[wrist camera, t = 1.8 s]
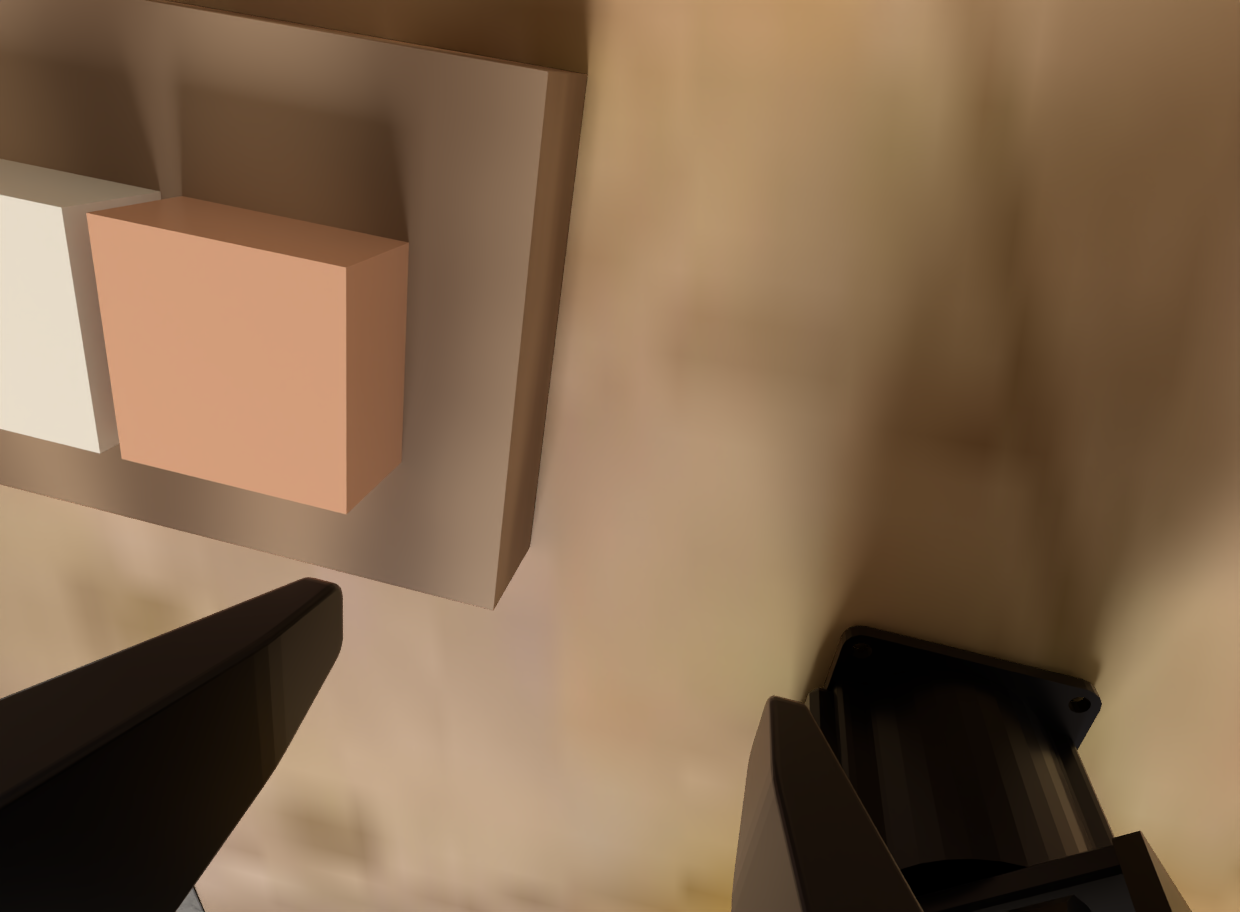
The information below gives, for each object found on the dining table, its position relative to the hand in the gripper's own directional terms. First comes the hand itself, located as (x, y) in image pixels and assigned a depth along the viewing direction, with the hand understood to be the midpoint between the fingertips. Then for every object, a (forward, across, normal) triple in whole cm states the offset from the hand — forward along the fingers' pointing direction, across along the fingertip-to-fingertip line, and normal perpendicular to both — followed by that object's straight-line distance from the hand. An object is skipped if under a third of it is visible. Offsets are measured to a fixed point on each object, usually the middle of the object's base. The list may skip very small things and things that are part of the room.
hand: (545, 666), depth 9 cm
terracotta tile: (+8, +8, 0) cm, 11 cm away
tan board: (+11, +12, 0) cm, 16 cm away
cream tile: (+8, +14, 0) cm, 16 cm away
